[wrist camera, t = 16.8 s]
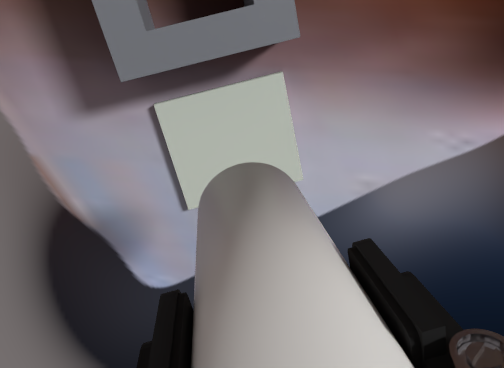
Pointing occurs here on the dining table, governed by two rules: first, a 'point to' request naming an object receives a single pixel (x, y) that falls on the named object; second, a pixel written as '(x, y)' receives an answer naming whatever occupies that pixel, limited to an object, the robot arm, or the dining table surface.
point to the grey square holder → (189, 34)
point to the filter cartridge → (277, 283)
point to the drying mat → (229, 132)
